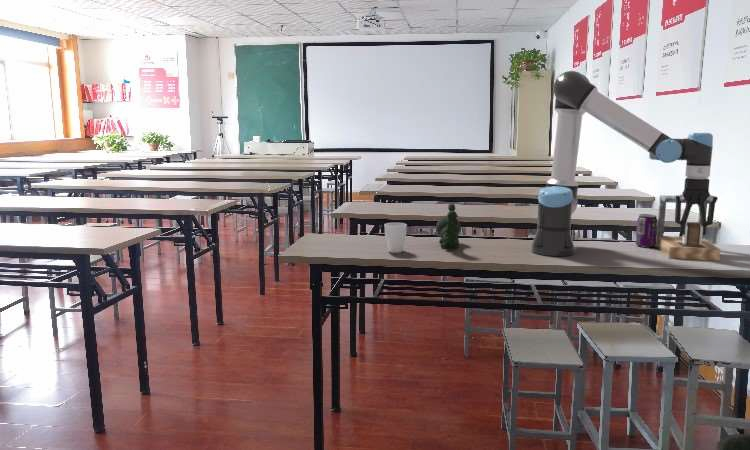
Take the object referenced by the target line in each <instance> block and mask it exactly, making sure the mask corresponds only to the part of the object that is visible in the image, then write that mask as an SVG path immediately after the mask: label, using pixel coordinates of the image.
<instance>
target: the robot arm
mask: <svg viewBox="0 0 750 450" xmlns="http://www.w3.org/2000/svg"><path fill="white" fill-rule="evenodd" d="M552 89H553V94H554V96H555V101H554V102H555V103H554V111H555V112H556V113H557V121H556V130H555V139H554V141H555V142H554V150H553V157H552V166H551V177H550V178H549V179H548V180H547V181H546V184H545V187H542V188H541V189H540V190H539V192H538V197H537V200H538V204H537V226H536V227H537V228H536V232H535V235H534V237H533V241H532V243H531V247H530V249H531V250H530V251H531V252H532V253H534V254H537V255H542V256H550V257H566V256H567V257H568V256H573V255H574V254H575V243H574V240H573V237H572V233H571V230H572V229H571V227H572V226H571V225H572V214H573V213H574V212H575V211H576V209H577V207H578V204H579V203H578V202H579V200H578V191H579V184H578V182H577V181H576V180H575V179H576V172H577V163H578V155H579V154H578V153H579V145H580V138H581V137H580V136H581V128H582V121H583V116H584V114H586V113H587V114H589V115H590V116H592V117H594V118H595V119H597V120H598V121H600V122H601V123H602V124H605V125H606V126H607V127H609V128H610V129H612V130H613V131H615V132H617V133H618V134H620V135H622V136H623V137H624V138H626V139H628V140H629V141H631V142H633V143H634V144H635V145H637V146H638V147H640V148H642V149H644V150H645V151H646V152H648V153H649V155H648V157H649V159H650V160H653V161H654V160H655V161H661V162H662V163H664V164H665V163H666V164H668V163H669V164H670V163H674V162H676V161H686V165H685V174H684V175H685V179H684V186H683V188H684V189H683V191H682V193H681V194H678V195H677V194H676V195H673V196H674V198H675V201H676V203H675V209H674V210H675V212H674V222H675V223H676V224H678V225H680V227H679V234H681V235H682V237H683V238H682V243H683V244H686V243H687V231H688V226H687V222H688V219H689V215H690V213H691V212H690V211H691V209H692V207H693V205H697V206H698V214H699V213H700V219H701V225H700V232H699V243H698V244H699V245H702V235H704V236H705V235H706V234H707V232H706V231H707V227H708V226H710V225H711V226H712V225H713V222H714V217H715V216H714V214H715V209H716V208H715V207H716V203H717V201H718V197H717V196H715V195H712V194H710V179H709V178H710V177H711V164H712V158H713V157H712V155H713V147H714V146H713V142H714V140H713V139H714V136H713V134H712V133H709V132H690V133H689V134H688V136H687V138H672V137H670V136H669V135H667V134H665V132H662V131H661V130H659V129H658V128H656V127H654V126H653V125H651V124H650V123H648V122H646V121H645V120H644V119H642V118H641V117H639V116H637V115H636V114H634V113H633V112H631V111H629V110H628V109H627V108H624V107H623V106H621V105H619V104H618V103H617V102H615V101H614V100H612V99H610V98H609V97H607V96H605V95H604V94H602V93H601V92H599V90H598V87H597V86H596V85H595V84H593V83H591V82H590V80H589V79H588V77H587V76H586V75H584V74H582V73H580V72H578V71H576V70H568V71H565V72H563V73H561V74H560V75H559V76H557V78H556V79H555V81H554V83H553V88H552ZM683 197H684V198H685V200H686V201H687V202H686V203H685V207H684V211H683V213H681V212H682V203H681V201H682V198H683ZM707 198H709V201H710V202H709V204H708V208H707V210H708V211H707V214H706V215H705V208H704V207H705V206H704V202H705V201H706V200H707ZM681 214H682V215H681Z"/></svg>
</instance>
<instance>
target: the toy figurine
mask: <svg viewBox="0 0 750 450" xmlns="http://www.w3.org/2000/svg"><path fill="white" fill-rule="evenodd" d="M447 208H448V213H447V215H443V216H442V217H440V218H439V220H437V223H436V225H435V227H436V232H437V234H438V235H439V237H440V239H439V241H438V242H439V244H440V248H442V249H447V248H451V249H452V248H454V249H458V248H459V247H460V245H459V243H460V240H459V235H460V233H461V230H462V228H461V227H462V226H461V222H460V221H459V219H458V217H459V216H458V213H457V212H456V211H455V210H456V205H455V203H453V202H450V203H448V206H447Z"/></svg>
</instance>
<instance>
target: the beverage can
mask: <svg viewBox="0 0 750 450" xmlns="http://www.w3.org/2000/svg"><path fill="white" fill-rule="evenodd" d="M636 220H637V221H636V230H635V231H636V234H635V245H637V246H638V247H640V246H643V247H642V248H648V247H649V248H653V247H656V236H657V224H658V215H656V214H647V213H642V214H638V218H637V219H636Z"/></svg>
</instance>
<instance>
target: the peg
mask: <svg viewBox="0 0 750 450" xmlns="http://www.w3.org/2000/svg"><path fill="white" fill-rule="evenodd" d="M686 225H687V226H688V231H687V243H686V245H685V246H698V243H699V232H700V223H698V221H697V222H695V221H694V222H693V221H687V222H686Z"/></svg>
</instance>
